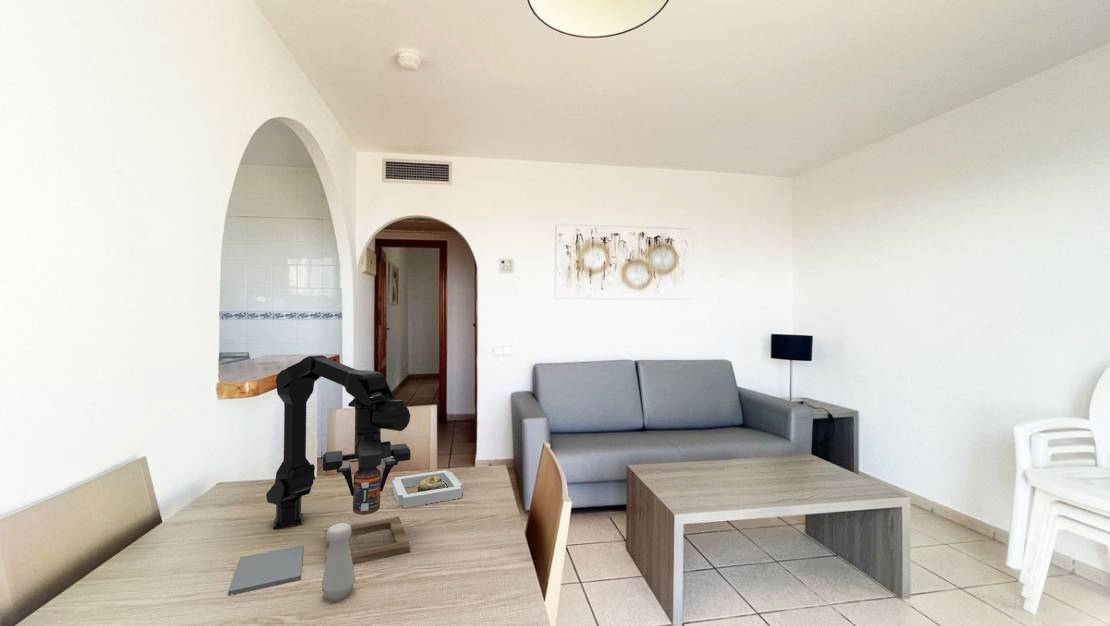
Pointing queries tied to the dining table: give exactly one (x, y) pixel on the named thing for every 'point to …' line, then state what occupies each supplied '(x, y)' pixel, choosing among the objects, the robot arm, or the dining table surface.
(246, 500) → the dining table surface
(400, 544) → the frame
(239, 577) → the grey flat slab
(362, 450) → the robot arm
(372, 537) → the dining table surface
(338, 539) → the salt shaker
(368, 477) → the supplement bottle
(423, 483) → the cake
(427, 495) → the grey bread rim
